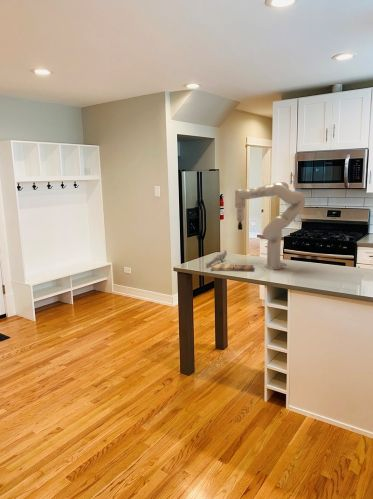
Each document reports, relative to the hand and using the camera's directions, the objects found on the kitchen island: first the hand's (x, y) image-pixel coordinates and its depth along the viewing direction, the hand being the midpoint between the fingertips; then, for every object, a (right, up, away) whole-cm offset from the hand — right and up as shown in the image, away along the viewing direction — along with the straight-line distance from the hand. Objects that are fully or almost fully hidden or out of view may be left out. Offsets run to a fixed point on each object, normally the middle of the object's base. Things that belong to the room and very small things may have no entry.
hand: (240, 229), depth 290 cm
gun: (-18, -27, +5) cm, 33 cm away
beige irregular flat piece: (-14, -29, -12) cm, 35 cm away
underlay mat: (-7, -30, -14) cm, 34 cm away
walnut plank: (0, -30, -15) cm, 33 cm away
